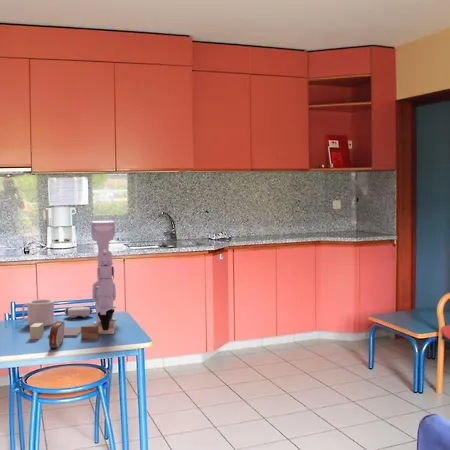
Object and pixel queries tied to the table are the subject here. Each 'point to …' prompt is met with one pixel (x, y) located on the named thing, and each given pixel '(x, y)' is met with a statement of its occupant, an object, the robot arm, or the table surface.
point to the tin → (56, 334)
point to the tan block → (110, 330)
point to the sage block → (36, 331)
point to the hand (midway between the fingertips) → (106, 328)
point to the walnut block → (89, 331)
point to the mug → (40, 312)
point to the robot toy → (78, 311)
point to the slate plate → (71, 331)
